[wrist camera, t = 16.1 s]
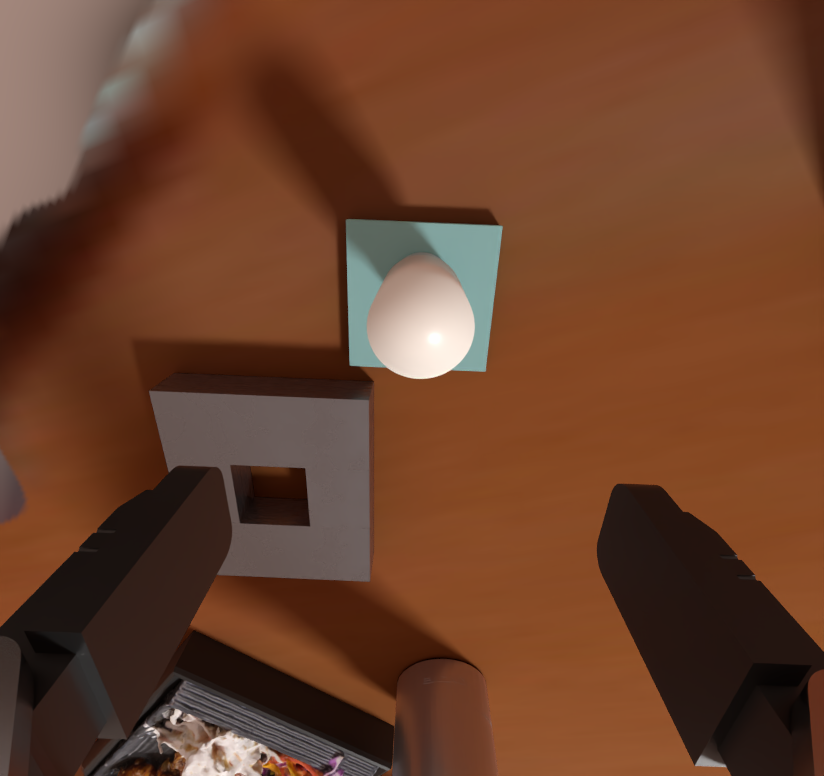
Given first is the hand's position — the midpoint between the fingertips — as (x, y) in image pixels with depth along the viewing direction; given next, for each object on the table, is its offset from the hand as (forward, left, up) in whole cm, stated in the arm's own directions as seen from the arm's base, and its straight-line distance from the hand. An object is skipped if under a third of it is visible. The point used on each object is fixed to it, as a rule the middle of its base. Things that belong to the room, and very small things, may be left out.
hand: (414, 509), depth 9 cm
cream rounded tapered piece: (+1, 0, -19) cm, 19 cm away
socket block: (-14, +10, -20) cm, 26 cm away
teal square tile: (0, 0, -20) cm, 20 cm away
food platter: (-58, +24, -21) cm, 67 cm away
